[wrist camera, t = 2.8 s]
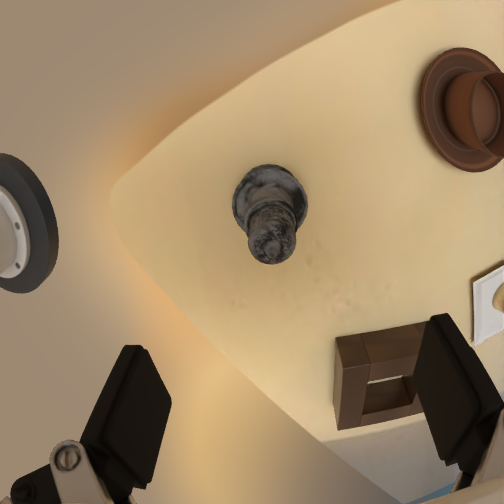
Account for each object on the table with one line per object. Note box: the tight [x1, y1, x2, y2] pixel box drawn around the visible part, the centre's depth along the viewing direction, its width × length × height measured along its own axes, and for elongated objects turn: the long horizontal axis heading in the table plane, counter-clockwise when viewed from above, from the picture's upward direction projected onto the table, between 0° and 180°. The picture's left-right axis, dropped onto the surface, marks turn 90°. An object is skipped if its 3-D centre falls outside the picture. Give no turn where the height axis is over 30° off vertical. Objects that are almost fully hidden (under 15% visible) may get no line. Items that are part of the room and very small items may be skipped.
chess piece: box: [232, 164, 308, 264], centre depth 22 cm, size 6×6×12 cm
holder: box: [333, 322, 426, 430], centre depth 35 cm, size 13×13×5 cm
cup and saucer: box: [421, 48, 504, 172], centre depth 20 cm, size 12×12×6 cm
